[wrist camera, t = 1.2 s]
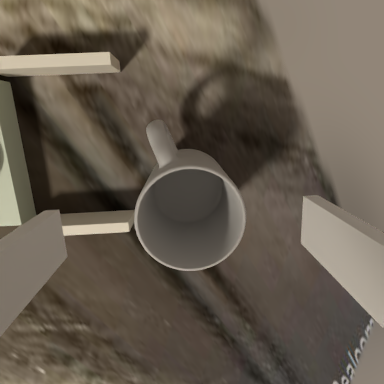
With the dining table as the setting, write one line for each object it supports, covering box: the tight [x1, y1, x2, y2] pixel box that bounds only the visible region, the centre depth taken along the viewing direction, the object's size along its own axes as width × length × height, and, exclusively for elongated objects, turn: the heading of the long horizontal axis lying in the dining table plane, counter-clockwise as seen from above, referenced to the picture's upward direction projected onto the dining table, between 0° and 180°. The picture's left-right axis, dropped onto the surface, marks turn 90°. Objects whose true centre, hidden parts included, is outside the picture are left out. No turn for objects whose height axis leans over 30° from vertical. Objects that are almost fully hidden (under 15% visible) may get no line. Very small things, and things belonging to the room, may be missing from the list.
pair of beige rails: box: [0, 52, 135, 236], centre depth 28 cm, size 19×16×4 cm
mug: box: [134, 120, 246, 271], centre depth 25 cm, size 12×8×11 cm
